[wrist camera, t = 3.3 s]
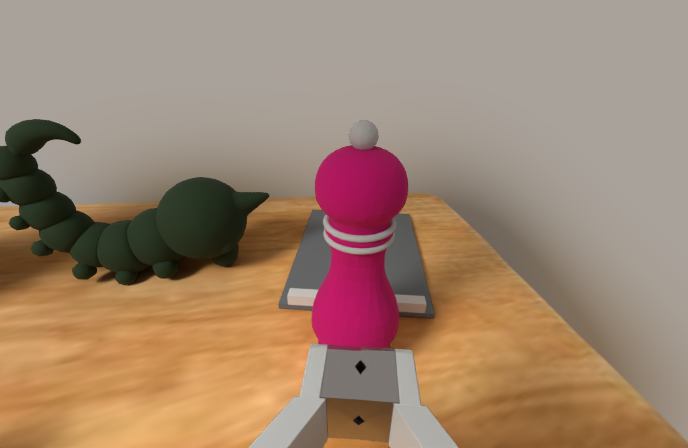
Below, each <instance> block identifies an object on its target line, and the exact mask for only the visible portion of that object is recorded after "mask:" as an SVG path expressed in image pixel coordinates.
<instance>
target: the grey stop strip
mask: <svg viewBox="0 0 688 448" xmlns="http://www.w3.org/2000/svg"><path fill="white" fill-rule="evenodd" d="M317 292H318V290H315V289H299V288H290V289H289V292H288V295H287V299H288V305H302V306H313V303H314V300H315V297H316V294H317ZM395 297H396V300H397V305H398V309H399V312H413V313H425V309H426V300H425V296H415V295H398V294H395Z"/></svg>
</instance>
